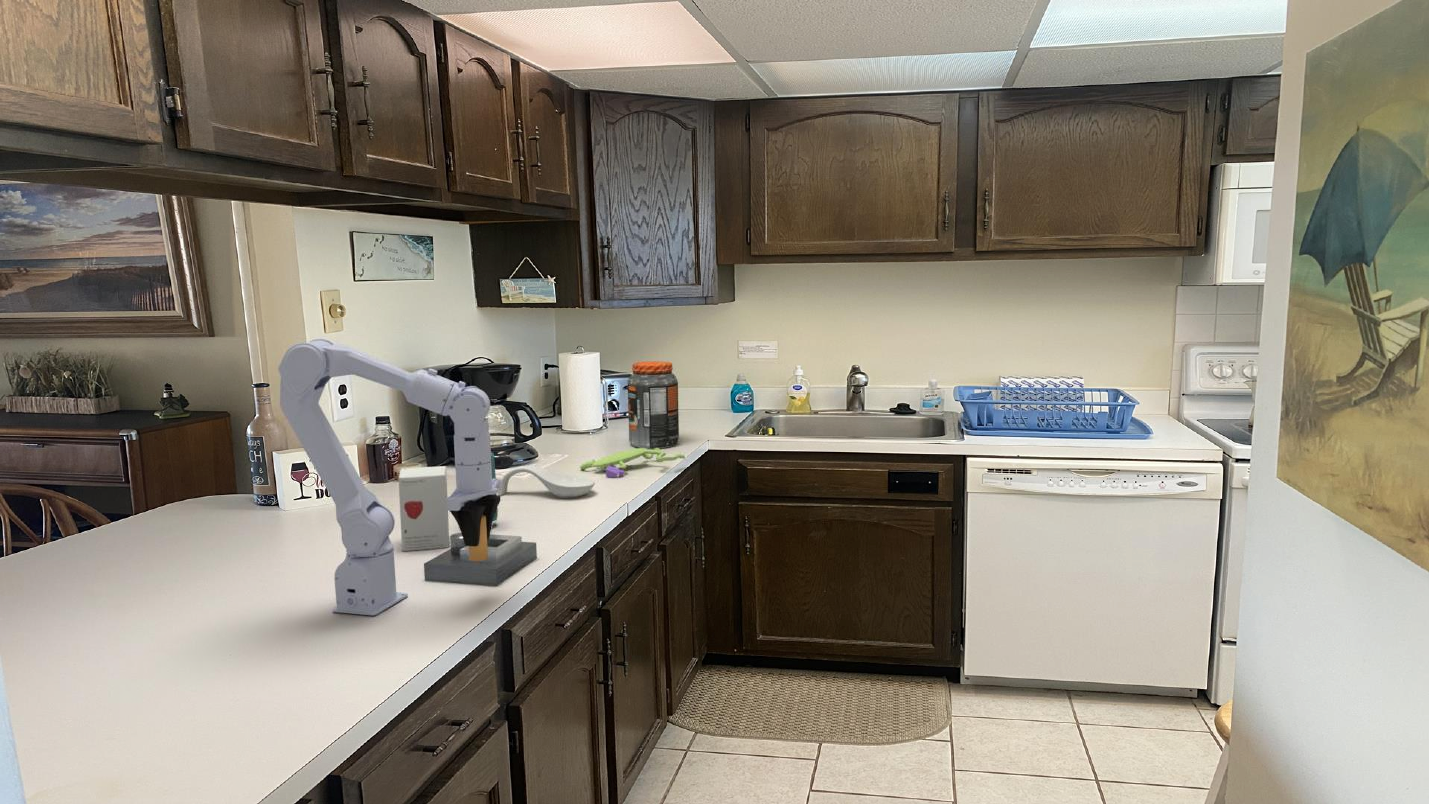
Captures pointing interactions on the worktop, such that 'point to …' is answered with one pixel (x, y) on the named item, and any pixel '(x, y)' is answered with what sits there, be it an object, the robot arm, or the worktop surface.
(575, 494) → the spoon rest
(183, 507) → the worktop surface
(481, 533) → the pin
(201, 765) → the worktop surface
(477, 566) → the grey peg socket block
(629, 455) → the figurine
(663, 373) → the supplement tub
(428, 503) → the supplement box
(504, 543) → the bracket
